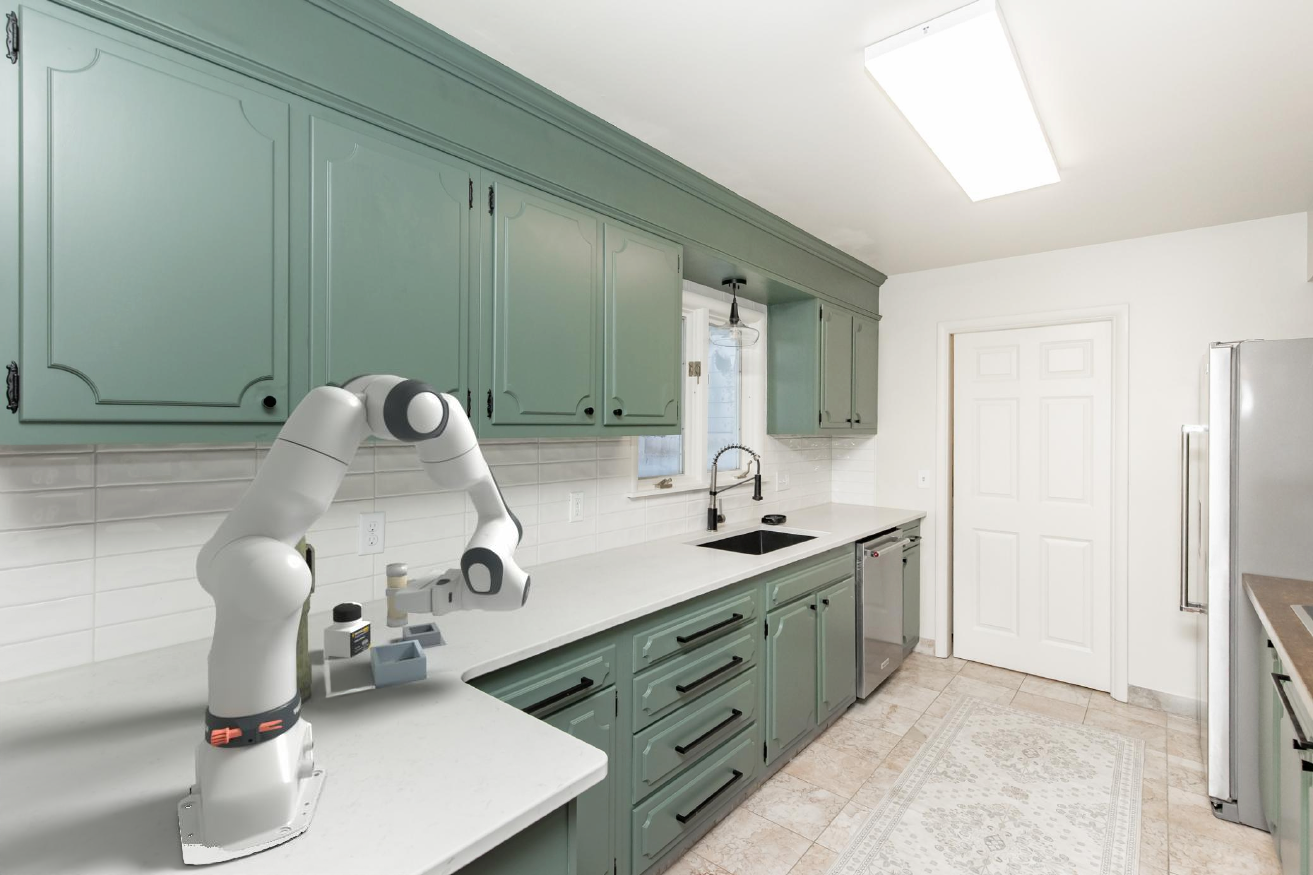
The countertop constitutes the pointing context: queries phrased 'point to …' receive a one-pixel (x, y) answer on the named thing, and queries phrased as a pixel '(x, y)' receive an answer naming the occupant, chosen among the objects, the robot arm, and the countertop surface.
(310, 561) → the thermos
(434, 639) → the socket block
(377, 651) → the parts tray
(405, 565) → the fuse
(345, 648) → the medicine bottle
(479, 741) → the countertop surface
